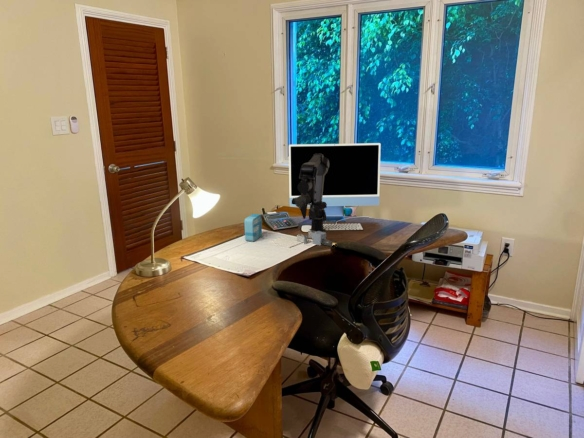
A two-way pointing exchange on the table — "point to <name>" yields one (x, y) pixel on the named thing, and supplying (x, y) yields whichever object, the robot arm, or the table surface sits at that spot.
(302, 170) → the robot arm
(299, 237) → the housing
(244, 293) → the table surface
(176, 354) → the table surface
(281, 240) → the mat
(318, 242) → the plug
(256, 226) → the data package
